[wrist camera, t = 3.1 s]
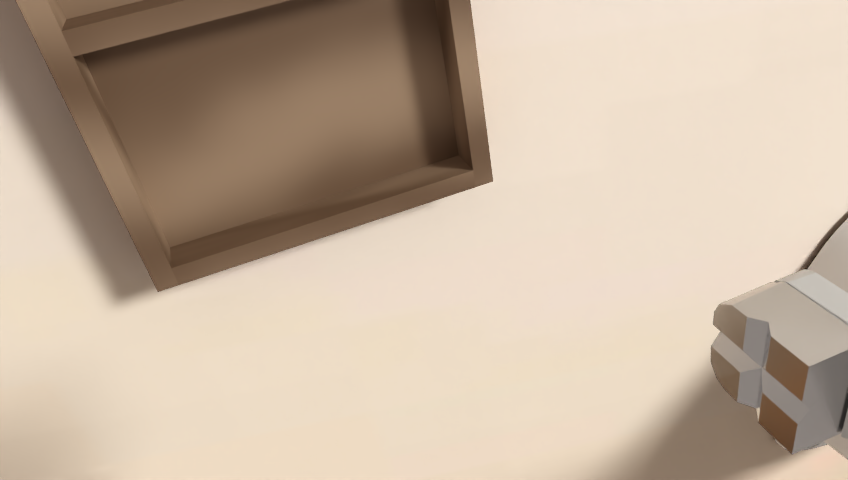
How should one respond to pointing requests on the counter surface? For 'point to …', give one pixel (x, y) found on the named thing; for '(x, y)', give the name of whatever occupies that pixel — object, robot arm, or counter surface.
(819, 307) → the robot arm
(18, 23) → the counter surface
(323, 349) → the counter surface
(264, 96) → the organiser
